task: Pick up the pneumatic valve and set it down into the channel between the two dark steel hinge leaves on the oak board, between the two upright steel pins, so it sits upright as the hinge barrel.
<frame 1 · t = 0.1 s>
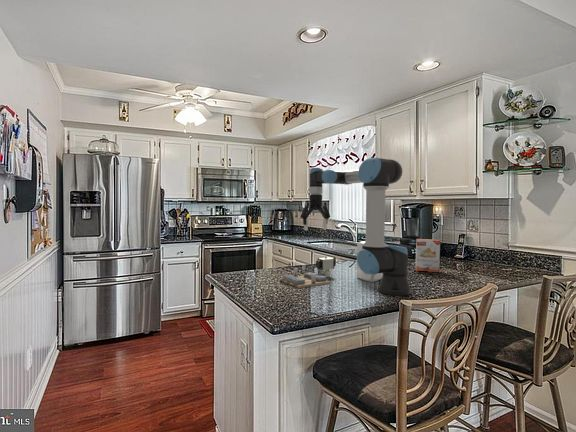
hand: (315, 230, 204), 28 cm above the counter, tool pointing down, fingers open, 13 cm apart
hinge leaves: (304, 275, 190), on the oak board, point 4 cm above the counter
cracker box: (427, 271, 222), on the counter
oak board: (304, 281, 190), on the counter
pneumatic valve: (325, 276, 205), on the counter
soap dispenser: (367, 279, 200), on the counter
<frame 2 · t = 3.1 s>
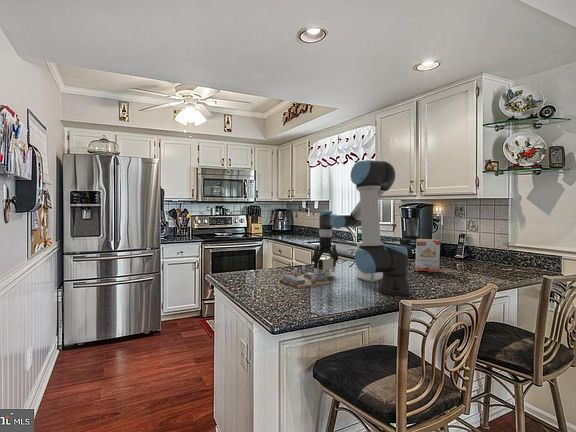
hand: (325, 272, 205), 2 cm above the counter, tool pointing down, fingers closed on pneumatic valve, 11 cm apart
pneumatic valve: (325, 276, 205), on the counter, touching gripper
everything else where it was.
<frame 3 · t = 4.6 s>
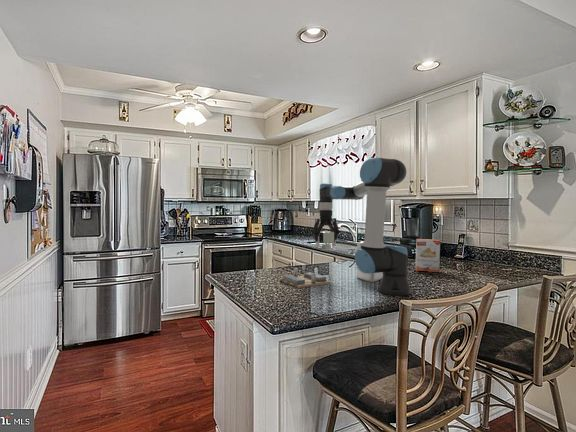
hand: (325, 246, 204), 18 cm above the counter, tool pointing down, fingers closed on pneumatic valve, 11 cm apart
pneumatic valve: (325, 250, 204), point 16 cm above the counter, touching gripper
everything else where it was.
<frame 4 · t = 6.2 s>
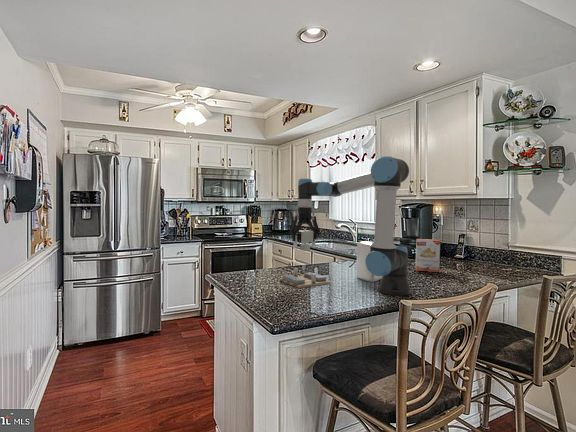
hand: (304, 246, 189), 20 cm above the counter, tool pointing down, fingers closed on pneumatic valve, 11 cm apart
pneumatic valve: (304, 250, 190), point 17 cm above the counter, touching gripper
everything else where it was.
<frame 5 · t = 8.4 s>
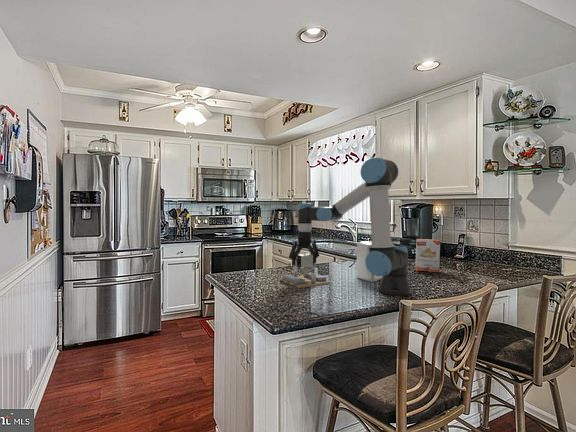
hand: (304, 270, 190), 6 cm above the counter, tool pointing down, fingers closed on pneumatic valve, 11 cm apart
pneumatic valve: (304, 274, 190), point 4 cm above the counter, touching gripper
everything else where it was.
when the fingers open (5 cm above the counter, at t = 9.8 s): pneumatic valve drops 2 cm, resting on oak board.
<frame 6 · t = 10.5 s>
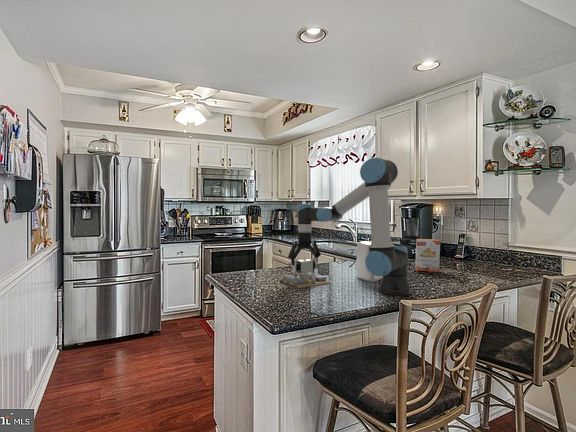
hand: (304, 270, 190), 7 cm above the counter, tool pointing down, fingers open, 13 cm apart
pneumatic valve: (304, 280, 190), point 1 cm above the counter, touching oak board
everything else where it was.
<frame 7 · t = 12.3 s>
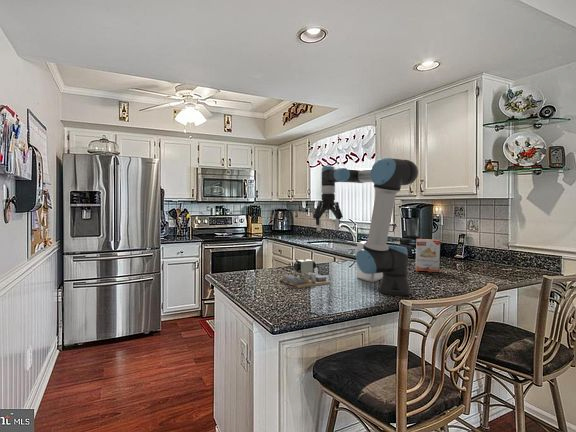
hand: (328, 230, 197), 28 cm above the counter, tool pointing down, fingers open, 13 cm apart
nothing on the counter moved.
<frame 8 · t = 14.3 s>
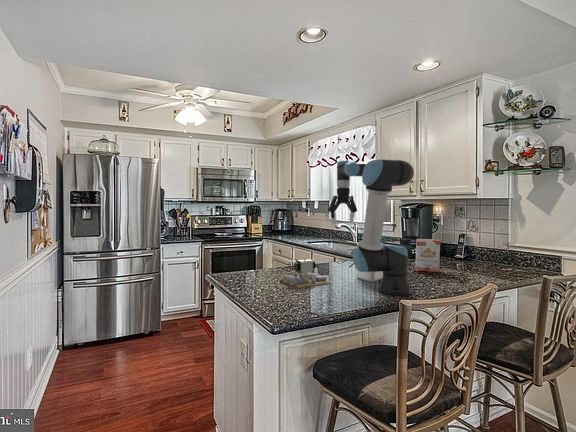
hand: (342, 223, 203), 32 cm above the counter, tool pointing down, fingers open, 13 cm apart
nothing on the counter moved.
at the end: pneumatic valve inside the target area on the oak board (0.1 cm from its centre), point 1.0 cm above the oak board's base; pneumatic valve tilted 0°; the gripper is holding nothing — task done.
